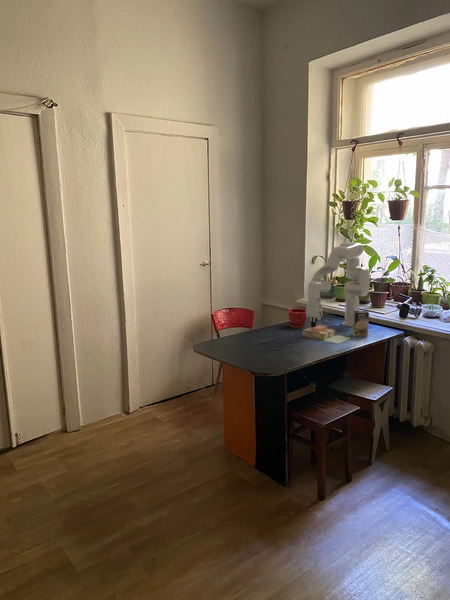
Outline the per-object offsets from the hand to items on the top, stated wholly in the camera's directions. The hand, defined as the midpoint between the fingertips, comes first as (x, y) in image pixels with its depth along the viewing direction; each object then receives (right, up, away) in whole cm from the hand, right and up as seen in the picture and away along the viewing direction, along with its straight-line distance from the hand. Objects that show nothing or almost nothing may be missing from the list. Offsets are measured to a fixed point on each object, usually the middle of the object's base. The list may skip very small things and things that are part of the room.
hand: (313, 327), depth 295 cm
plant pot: (-6, -1, +24) cm, 25 cm away
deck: (+3, -6, -2) cm, 7 cm away
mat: (+13, -7, -11) cm, 19 cm away
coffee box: (+30, -5, -3) cm, 31 cm away
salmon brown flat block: (+3, -2, -3) cm, 5 cm away
